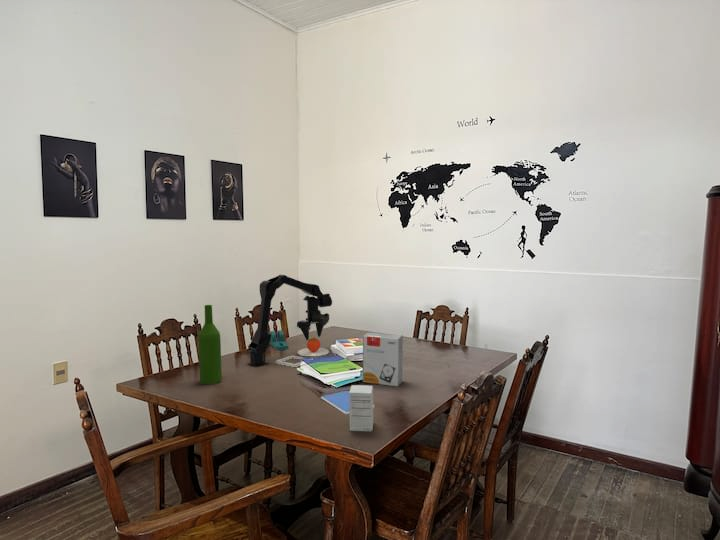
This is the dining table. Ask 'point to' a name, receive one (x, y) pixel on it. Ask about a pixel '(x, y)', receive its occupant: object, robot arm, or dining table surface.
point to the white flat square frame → (289, 363)
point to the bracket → (278, 340)
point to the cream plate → (309, 353)
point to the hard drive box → (382, 358)
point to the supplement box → (361, 408)
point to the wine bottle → (209, 350)
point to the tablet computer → (339, 401)
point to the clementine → (313, 344)
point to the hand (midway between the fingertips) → (313, 338)
